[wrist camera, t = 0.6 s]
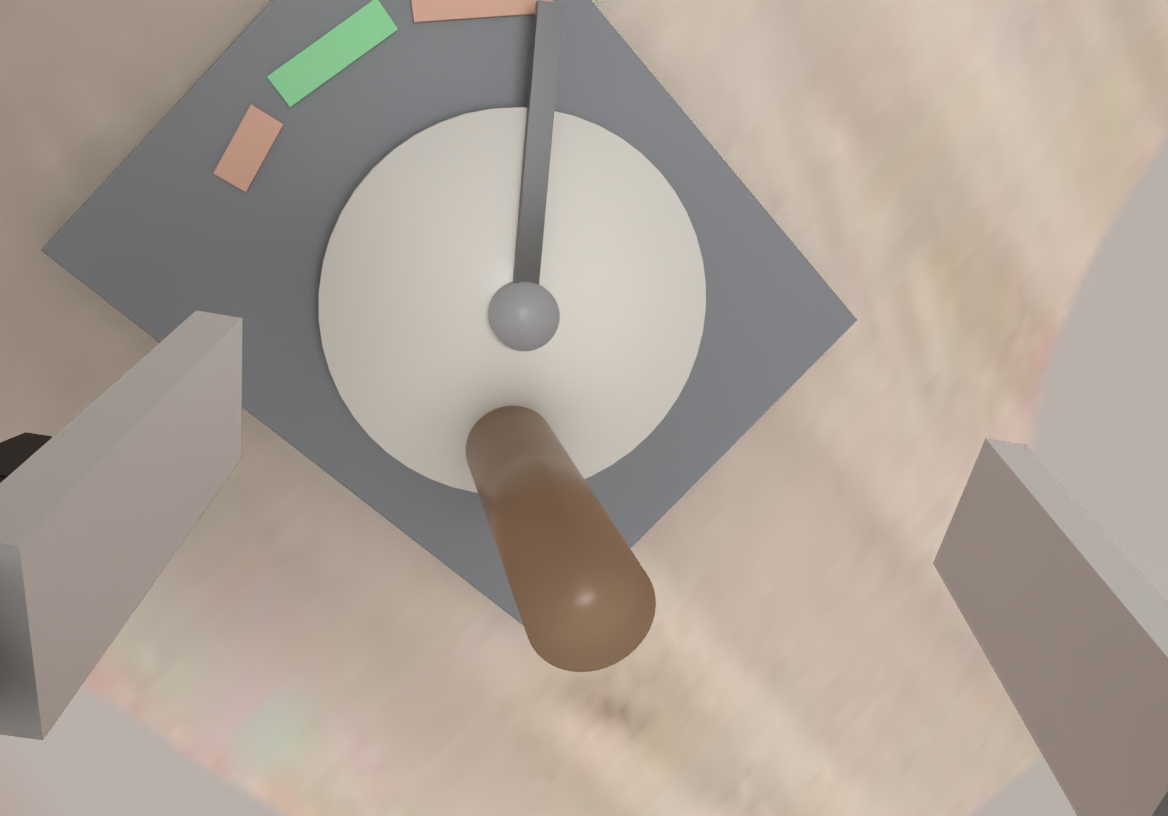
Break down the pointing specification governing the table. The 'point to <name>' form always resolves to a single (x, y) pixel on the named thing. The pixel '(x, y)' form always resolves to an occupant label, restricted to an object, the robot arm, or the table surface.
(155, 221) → the dial plate
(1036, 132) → the table surface
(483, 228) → the post on round base
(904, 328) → the table surface
